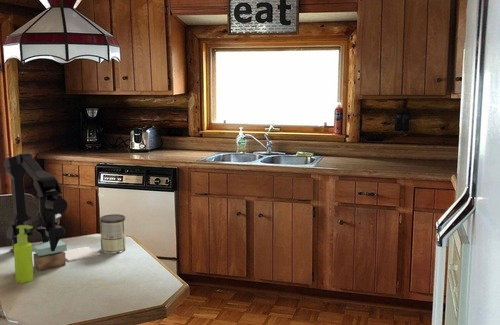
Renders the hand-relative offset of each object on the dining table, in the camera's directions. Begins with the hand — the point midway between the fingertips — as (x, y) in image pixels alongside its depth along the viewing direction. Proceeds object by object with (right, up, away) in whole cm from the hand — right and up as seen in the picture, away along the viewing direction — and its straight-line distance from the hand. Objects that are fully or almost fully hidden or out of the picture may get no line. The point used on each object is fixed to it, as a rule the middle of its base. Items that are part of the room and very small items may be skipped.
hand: (49, 248), depth 212 cm
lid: (0, 0, 0) cm, 0 cm away
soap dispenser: (-3, -9, -13) cm, 17 cm away
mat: (+7, -5, +15) cm, 17 cm away
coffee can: (+19, -4, +21) cm, 29 cm away
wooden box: (0, -7, +1) cm, 7 cm away
